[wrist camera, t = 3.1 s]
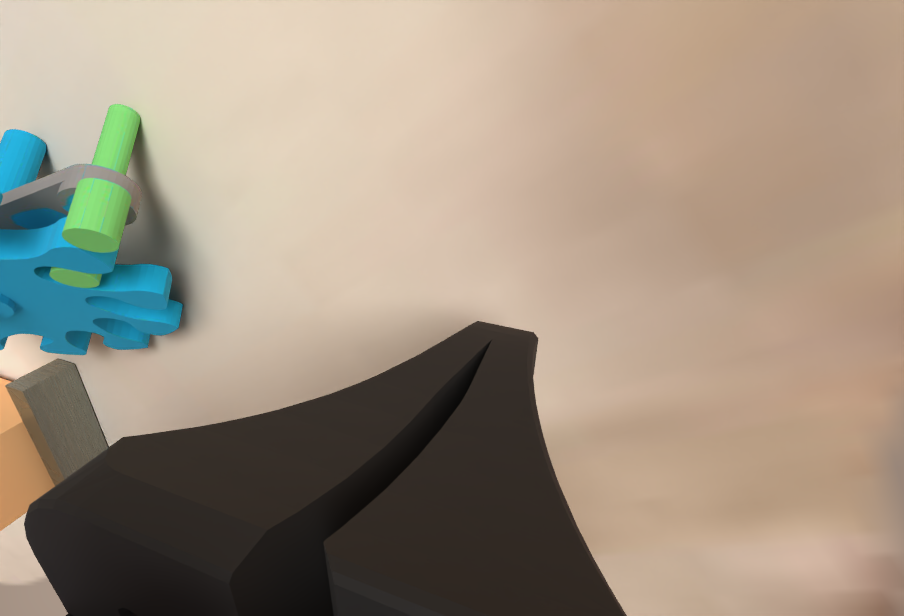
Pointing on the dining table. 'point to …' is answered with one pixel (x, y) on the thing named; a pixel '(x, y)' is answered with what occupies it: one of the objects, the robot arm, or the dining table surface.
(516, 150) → the dining table surface
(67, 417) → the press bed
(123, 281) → the gear
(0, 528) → the press ram
